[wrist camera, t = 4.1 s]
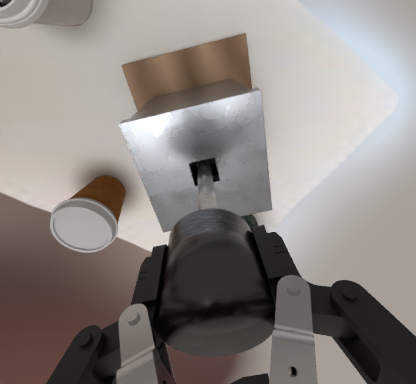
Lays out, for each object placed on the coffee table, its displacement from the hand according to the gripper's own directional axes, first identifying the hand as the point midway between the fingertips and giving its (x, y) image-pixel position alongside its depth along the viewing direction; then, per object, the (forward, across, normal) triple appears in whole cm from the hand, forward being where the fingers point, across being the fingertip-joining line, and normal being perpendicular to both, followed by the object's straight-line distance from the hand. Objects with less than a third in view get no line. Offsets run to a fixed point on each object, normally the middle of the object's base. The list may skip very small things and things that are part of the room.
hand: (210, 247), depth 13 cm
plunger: (+15, 0, 0) cm, 15 cm away
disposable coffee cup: (+29, +20, +8) cm, 36 cm away
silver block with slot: (+28, 0, +1) cm, 28 cm away
